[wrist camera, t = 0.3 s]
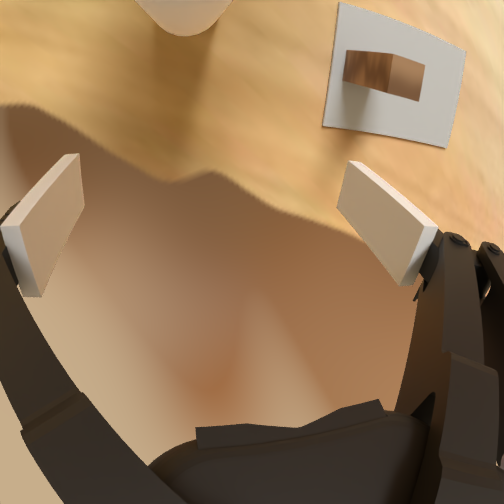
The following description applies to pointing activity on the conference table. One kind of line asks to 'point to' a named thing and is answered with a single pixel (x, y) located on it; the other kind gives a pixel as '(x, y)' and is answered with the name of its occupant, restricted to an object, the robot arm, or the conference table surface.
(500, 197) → the conference table surface
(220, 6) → the bottle
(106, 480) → the robot arm
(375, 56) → the walnut block
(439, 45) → the felt mat
